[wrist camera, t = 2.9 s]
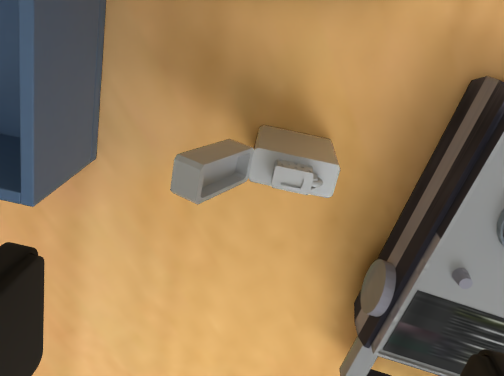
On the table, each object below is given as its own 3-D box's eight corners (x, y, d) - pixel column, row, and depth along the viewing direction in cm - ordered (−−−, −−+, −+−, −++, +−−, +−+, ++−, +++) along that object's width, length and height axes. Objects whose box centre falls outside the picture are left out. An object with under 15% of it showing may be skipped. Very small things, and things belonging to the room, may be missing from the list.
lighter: (332, 139, 24) (352, 198, 16) (324, 168, 24) (339, 236, 17) (208, 112, 24) (171, 159, 16) (203, 142, 24) (165, 199, 17)
